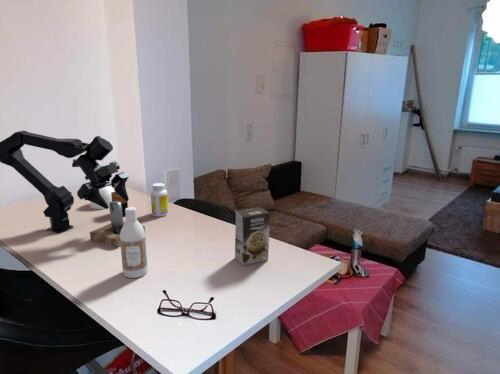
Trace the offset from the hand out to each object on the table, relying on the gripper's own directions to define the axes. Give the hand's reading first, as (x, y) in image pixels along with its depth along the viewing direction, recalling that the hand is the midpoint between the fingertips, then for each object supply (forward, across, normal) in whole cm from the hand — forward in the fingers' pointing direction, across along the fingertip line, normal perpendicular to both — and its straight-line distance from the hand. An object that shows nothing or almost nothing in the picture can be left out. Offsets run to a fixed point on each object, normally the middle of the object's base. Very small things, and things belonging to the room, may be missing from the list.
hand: (118, 204), depth 130 cm
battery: (-3, +17, +21) cm, 27 cm away
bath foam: (+24, -16, -6) cm, 30 cm away
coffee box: (+43, +8, -25) cm, 50 cm away
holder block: (+8, 0, +10) cm, 13 cm away
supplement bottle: (+7, +25, +11) cm, 28 cm away
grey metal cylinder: (+8, 0, +10) cm, 13 cm away
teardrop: (-14, +22, +32) cm, 41 cm away
